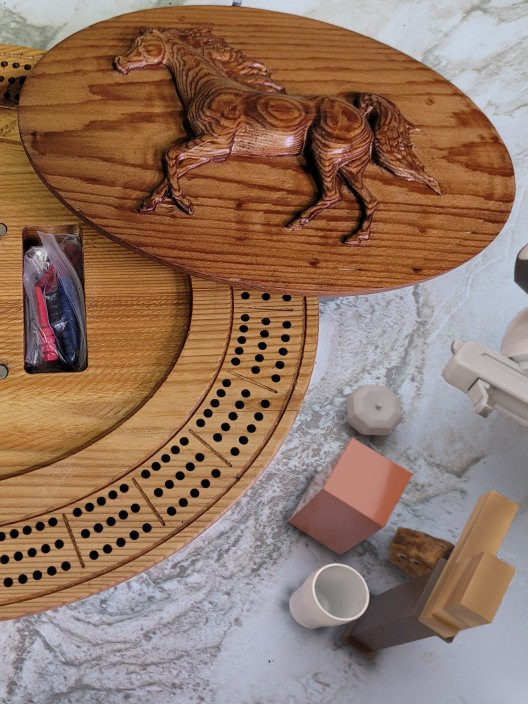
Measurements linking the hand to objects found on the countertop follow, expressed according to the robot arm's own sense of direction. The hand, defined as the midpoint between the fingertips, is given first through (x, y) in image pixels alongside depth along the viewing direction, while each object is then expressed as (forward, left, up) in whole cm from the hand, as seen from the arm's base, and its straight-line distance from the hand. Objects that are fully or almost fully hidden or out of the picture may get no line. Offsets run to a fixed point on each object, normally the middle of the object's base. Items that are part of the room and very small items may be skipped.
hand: (523, 433), depth 95 cm
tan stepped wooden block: (0, +18, +1) cm, 19 cm away
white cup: (+7, +25, -25) cm, 36 cm away
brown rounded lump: (-2, +12, -25) cm, 28 cm away
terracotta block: (+11, +12, -25) cm, 30 cm away
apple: (+13, -4, -25) cm, 28 cm away
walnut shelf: (0, +23, -25) cm, 33 cm away
